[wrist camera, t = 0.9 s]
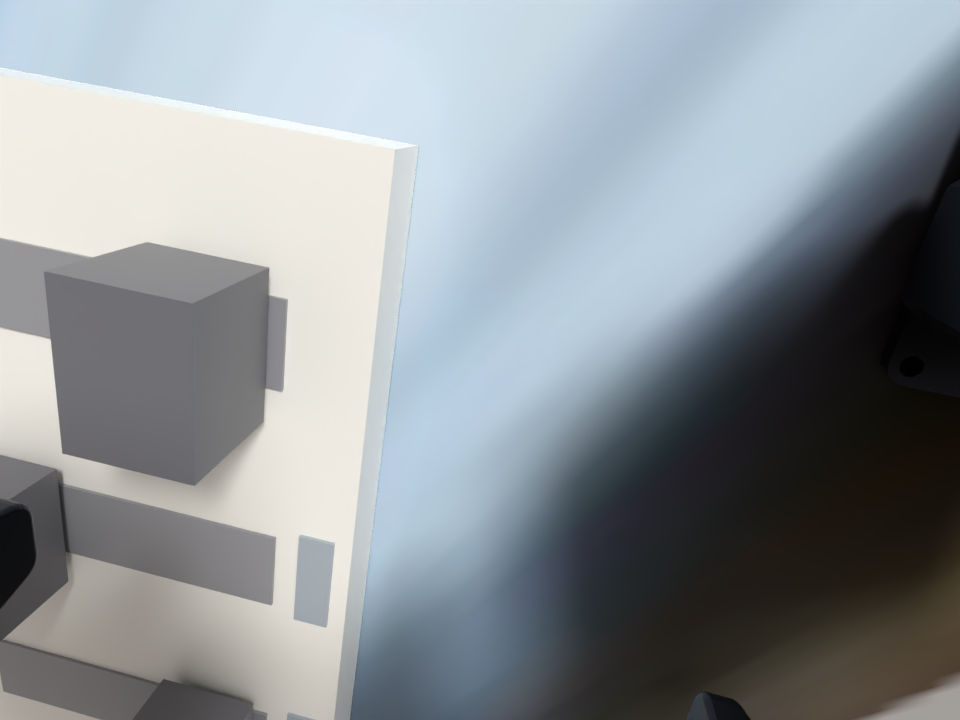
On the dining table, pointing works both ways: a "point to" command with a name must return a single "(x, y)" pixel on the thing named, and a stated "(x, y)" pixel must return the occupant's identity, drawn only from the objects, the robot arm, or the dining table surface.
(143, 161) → the switch board
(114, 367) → the grey plastic block
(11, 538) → the robot arm
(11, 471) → the grey block
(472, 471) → the dining table surface
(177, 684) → the grey squarish block
